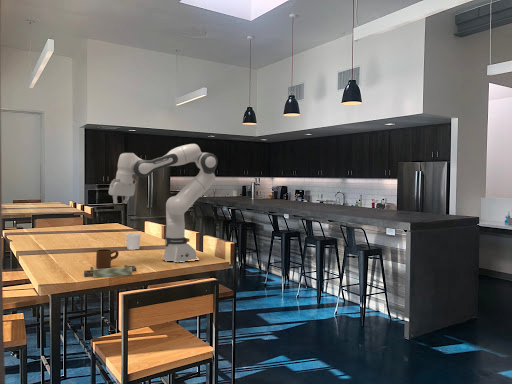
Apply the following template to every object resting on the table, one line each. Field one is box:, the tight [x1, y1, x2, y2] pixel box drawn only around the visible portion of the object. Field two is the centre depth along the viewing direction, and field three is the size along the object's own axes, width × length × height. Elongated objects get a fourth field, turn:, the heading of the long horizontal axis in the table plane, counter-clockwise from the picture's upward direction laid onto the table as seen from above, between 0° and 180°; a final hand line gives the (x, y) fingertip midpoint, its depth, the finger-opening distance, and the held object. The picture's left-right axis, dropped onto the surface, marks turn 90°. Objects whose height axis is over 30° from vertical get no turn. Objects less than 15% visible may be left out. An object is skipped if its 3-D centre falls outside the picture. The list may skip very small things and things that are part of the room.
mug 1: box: [95, 248, 119, 269], centre depth 225 cm, size 12×8×9 cm, turn 130°
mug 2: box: [124, 232, 142, 251], centre depth 283 cm, size 11×9×10 cm
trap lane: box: [83, 264, 137, 279], centre depth 212 cm, size 26×17×4 cm, turn 116°
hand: (120, 203), depth 237 cm, fingers open, 8 cm apart
